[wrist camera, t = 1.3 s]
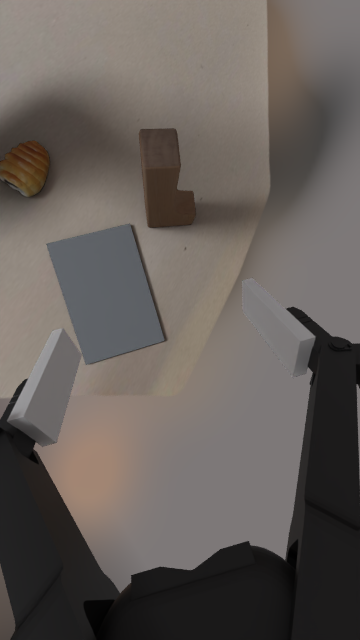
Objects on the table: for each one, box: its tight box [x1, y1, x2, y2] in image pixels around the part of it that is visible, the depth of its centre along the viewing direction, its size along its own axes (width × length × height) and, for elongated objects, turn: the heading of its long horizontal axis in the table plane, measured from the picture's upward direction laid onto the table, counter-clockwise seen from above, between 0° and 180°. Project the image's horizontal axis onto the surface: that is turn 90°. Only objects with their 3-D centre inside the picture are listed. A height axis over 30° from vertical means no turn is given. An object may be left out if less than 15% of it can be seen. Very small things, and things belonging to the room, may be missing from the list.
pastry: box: [0, 141, 50, 197], centre depth 38 cm, size 9×7×4 cm
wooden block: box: [139, 129, 196, 227], centre depth 34 cm, size 9×4×18 cm, turn 97°
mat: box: [46, 224, 165, 365], centre depth 42 cm, size 24×16×1 cm, turn 16°
